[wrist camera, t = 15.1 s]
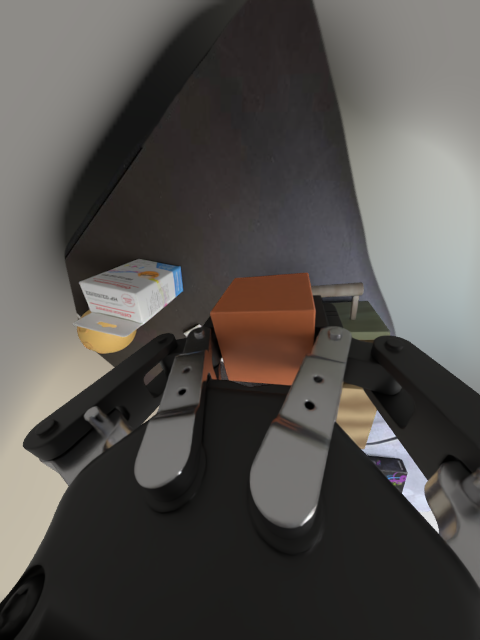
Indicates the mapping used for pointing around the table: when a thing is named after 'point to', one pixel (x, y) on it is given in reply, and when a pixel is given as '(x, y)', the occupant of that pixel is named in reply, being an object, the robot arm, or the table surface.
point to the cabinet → (356, 414)
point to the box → (392, 470)
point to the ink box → (129, 295)
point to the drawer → (354, 311)
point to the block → (265, 327)
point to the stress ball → (103, 338)
